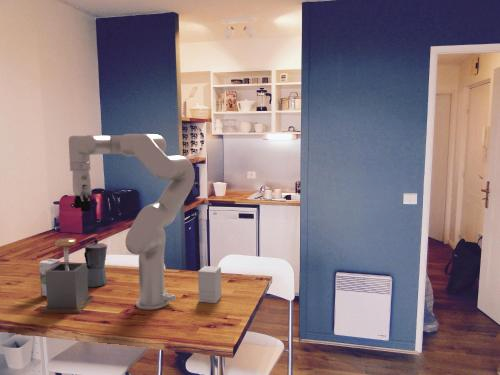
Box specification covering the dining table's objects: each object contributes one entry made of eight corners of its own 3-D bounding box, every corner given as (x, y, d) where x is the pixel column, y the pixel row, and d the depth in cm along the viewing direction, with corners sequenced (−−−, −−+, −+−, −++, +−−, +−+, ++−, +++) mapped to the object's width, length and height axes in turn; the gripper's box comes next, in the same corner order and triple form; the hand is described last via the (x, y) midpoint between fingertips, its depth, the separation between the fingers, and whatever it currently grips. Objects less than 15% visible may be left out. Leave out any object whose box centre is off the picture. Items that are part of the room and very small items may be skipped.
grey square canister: (93, 298, 170) (92, 261, 168) (79, 312, 156) (77, 273, 154) (59, 298, 170) (57, 261, 168) (41, 312, 156) (39, 272, 154)
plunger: (81, 273, 165) (79, 238, 164) (73, 279, 158) (71, 243, 156) (61, 272, 165) (60, 238, 164) (52, 279, 158) (50, 243, 156)
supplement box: (221, 296, 172) (221, 266, 170) (215, 303, 165) (215, 272, 163) (204, 295, 174) (204, 265, 172) (198, 301, 166) (197, 270, 165)
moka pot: (114, 279, 193) (112, 236, 190) (98, 291, 178) (96, 245, 175) (94, 278, 194) (92, 236, 191) (77, 290, 179) (74, 244, 176)
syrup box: (62, 292, 176) (60, 259, 174) (52, 297, 170) (50, 263, 169) (51, 291, 178) (49, 257, 176) (40, 296, 172) (38, 261, 170)
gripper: (96, 167, 163) (98, 211, 165) (83, 165, 176) (85, 205, 178) (75, 168, 158) (78, 213, 160) (64, 166, 172) (66, 207, 174)
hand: (82, 209), depth 169 cm, fingers open, 9 cm apart
